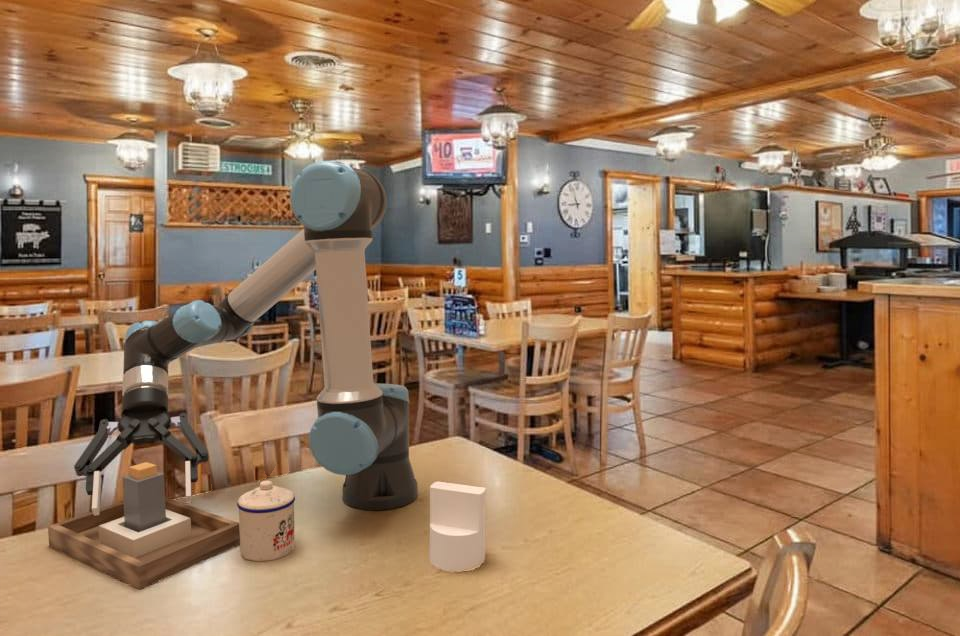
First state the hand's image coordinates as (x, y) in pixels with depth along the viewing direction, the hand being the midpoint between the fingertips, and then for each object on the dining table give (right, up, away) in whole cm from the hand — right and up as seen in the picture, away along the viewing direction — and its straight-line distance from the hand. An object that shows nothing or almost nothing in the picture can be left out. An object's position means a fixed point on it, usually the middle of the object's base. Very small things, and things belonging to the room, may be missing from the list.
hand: (143, 505), depth 107 cm
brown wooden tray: (-1, -7, +3) cm, 8 cm away
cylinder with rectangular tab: (+52, -9, -1) cm, 52 cm away
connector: (-1, -6, +3) cm, 7 cm away
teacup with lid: (+20, -8, +3) cm, 22 cm away
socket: (-1, -6, +3) cm, 7 cm away
